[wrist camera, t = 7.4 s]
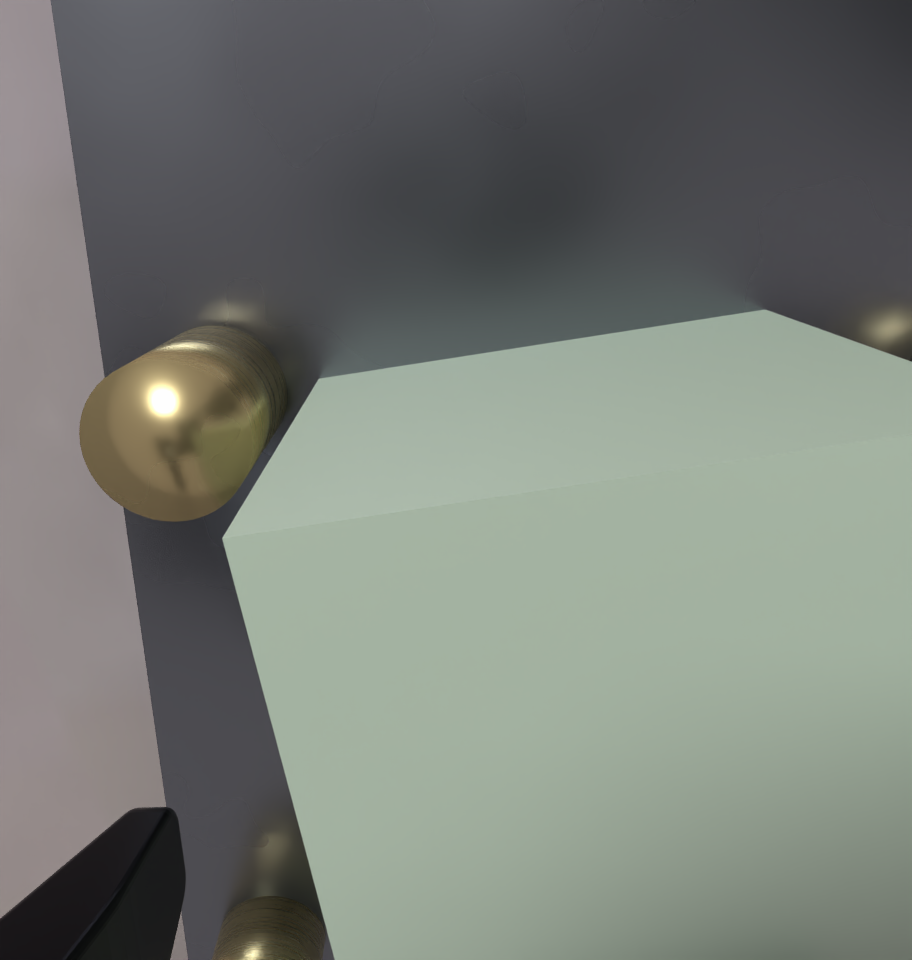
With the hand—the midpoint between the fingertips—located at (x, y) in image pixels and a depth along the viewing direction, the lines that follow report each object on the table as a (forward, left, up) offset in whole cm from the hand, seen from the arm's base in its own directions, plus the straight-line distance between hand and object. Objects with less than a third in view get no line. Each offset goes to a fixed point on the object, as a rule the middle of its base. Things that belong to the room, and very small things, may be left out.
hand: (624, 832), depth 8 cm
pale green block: (0, 0, -2) cm, 2 cm away
